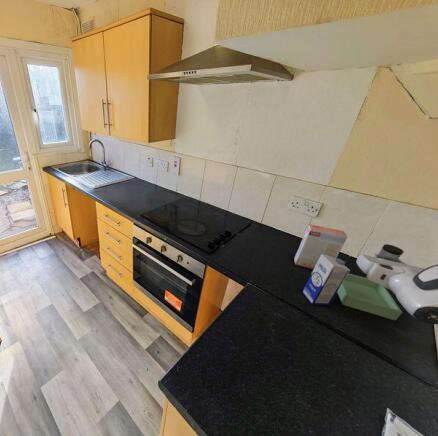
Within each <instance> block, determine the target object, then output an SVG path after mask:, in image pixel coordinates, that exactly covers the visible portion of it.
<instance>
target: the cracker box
mask: <svg viewBox="0 0 438 436" xmlns="http://www.w3.org/2000/svg"><path fill="white" fill-rule="evenodd" d="M347 239H348V235H347V233H345V231H344V230H339V229H334V228H330V227H324V226H320V225H315V224H311V223H309V224H308V225H307V228H306V230H305V232H304V235H303V237H302V240H301V241H300V244H299V246H298V249H297V251H296V253H295V256H294V259H293V260H294V265H295V266H298V267H301V268H306V269H310V270H312V271H313V270H314V268H315V266H316V264H317V262H318V260H319V258H320V256H321V254H324V255H328V256H331V257H334V258H336V259H337V258H338V256H339V254H340V252H341V250H342V248H343V246H344V245H345V243H346V241H347Z"/></svg>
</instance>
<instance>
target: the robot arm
mask: <svg viewBox="0 0 438 436" xmlns="http://www.w3.org/2000/svg"><path fill="white" fill-rule="evenodd" d="M379 257H380V256H379V255H378V253H372V254H371V255H367V254H364V253H363V254H360V255H358V256H357V259H356V265H357V266H358V268H359V269H360V271H362V273H364V274H365V275H366V277H365V278H367V279H368V280H370V281H373V282H375V283H377V284H380V285H382V286H384V287H385V288H386V290H390V291H391V292H392V293H393V294H394V295H395V296H396V299H397V301H398V302H399V303H400V305H401V306H402V308H404V309H405V311H406V312H407V313H408V314H409V315H410V316H412V317H413V318H414V319H416V320H418V321H420V322H423V323H425V324H429V325H438V264H434V265H430V266H428V267H426V268H424V267H420V266H414V265H410V264H408V263H406V262H404V261H402V260H401V259H400V258H399V259H398V260H397V261H396V262H394V261H390V260H385V259H381V258H379Z"/></svg>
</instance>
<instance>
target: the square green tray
mask: <svg viewBox="0 0 438 436" xmlns="http://www.w3.org/2000/svg"><path fill="white" fill-rule="evenodd" d="M337 294H338V297H339V299H340V302H341V304H342V306H345V307H349V308H353V309H354V310H355V309H356V310H359V311H363V312H365V313H369V314H372V315H376V316H379V317H382V318H385V319H388V320H392V321H395V322H396V321H397V320H398V318H400V316H401V315H402V314H403V311H402V310H401V308H400V307H399V305H398V304H397V302H396V301H395V299H394V298H393V297H392V295H391V294H390V293H389V291H388V289H387V288H386V287H384V286H382V285H380V284H377V283H375V282H373V281H370V280H368V279H367V277H363V276H359V275H357V274H356V275H355V274H353V273H348V275H347V276H346V278H345V280H344V281H343V283H342V285H341V286H340V288H339V289H338V291H337Z"/></svg>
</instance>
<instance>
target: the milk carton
mask: <svg viewBox="0 0 438 436" xmlns="http://www.w3.org/2000/svg"><path fill="white" fill-rule="evenodd" d="M345 264H346V261H344V260H343V259H341V258H339V257H337V258H334V257H331V256H328V255H324V254H321V256H320V258H319V260H318V262H317V264H316V266H315V268H314V270H313V269H312V271H311V274H310V276H309V277H308V280H307V282H306V284H305V285H304V287H303V289H302V293H303V295H304V296H305V297H306V298H307V300H308V301H309V302H310V304H311V305H314V306H315V305H316V306H317V305H318V306H330V304H331V303H332V301H333V299H334V298H335V296H336V294H338V292H337V291H338V289H339V288H340V286H341V285H342V283H343V281H344V280H345V278H346V276H347V275H348V274H350V272H351V269H350V268H348V267H347V266H346V265H345Z"/></svg>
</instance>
